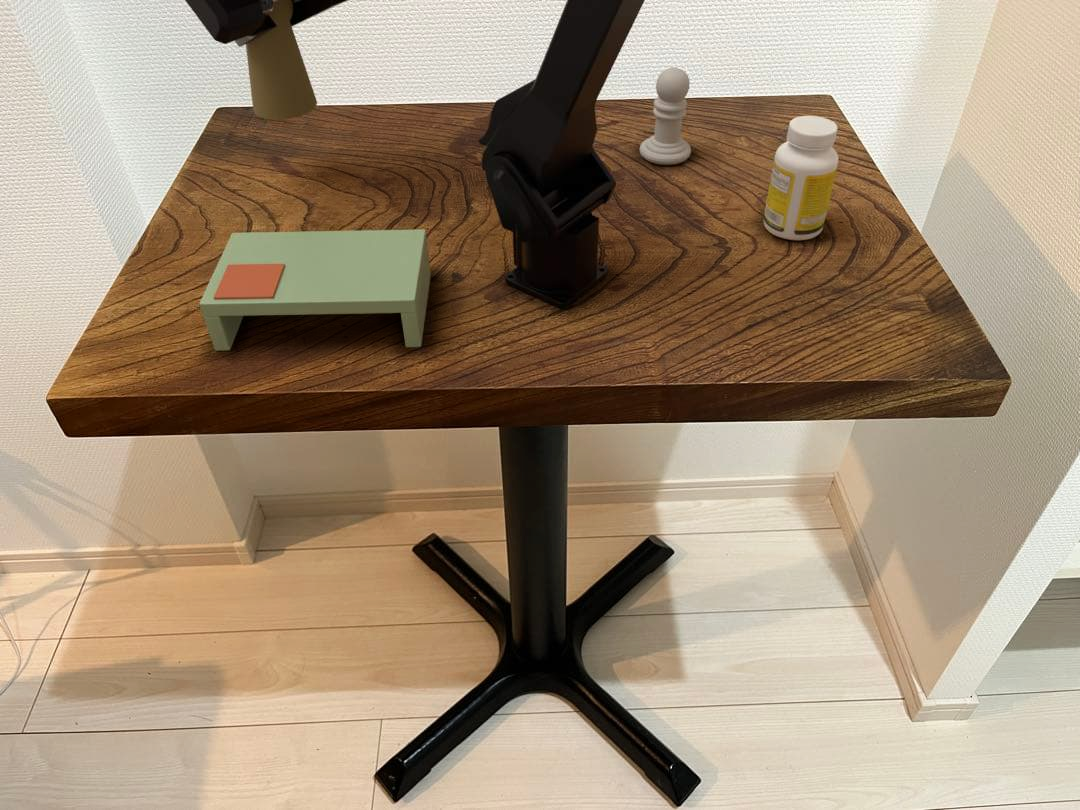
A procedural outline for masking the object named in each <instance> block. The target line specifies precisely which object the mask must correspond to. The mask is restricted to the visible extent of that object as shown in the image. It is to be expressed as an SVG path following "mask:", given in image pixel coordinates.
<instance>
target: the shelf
mask: <svg viewBox="0 0 1080 810" xmlns="http://www.w3.org/2000/svg"><path fill="white" fill-rule="evenodd" d="M431 277H432V272H431V265H430V253H429V246H428V239H427V230H426V229H425V228H423V229H422V228H421V229H372V230H371V229H368V230H365V229H363V230H318V231H317V230H315V231H307V230H306V231H260V232H258V231H255V232H253V231H251V232H248V231H247V232H232V233H231V234H230V237H229V239H228V241H227V244H226V245H225V248H224V249H223V252H222V254H221V256H220V258H219V260H218V262H217V265H216V267H215V269H214V271H213V274H212V275H211V277H210V280H209V282H208V284H207V286H206V289H205V291H204V293H203V295H202V297H201V299H200V301H199V307H200V311H201V313H202V316H203V320H204V322H205V325H206V327H207V331H208V334H209V337H210V340H211V342H212V345H213V348H214V351H217V352H219V351H231V349H232V347H233V344H234V341H235V339H236V337H237V334H238V332H239V329H240V326H241V323H242V321H243V318H244V317H246V316H249V317H250V316H289V315H290V316H298V315H299V316H300V315H301V316H303V315H307V316H308V315H349V314H350V315H352V314H353V315H354V314H355V315H357V314H358V315H359V314H400V317H401V324H402V330H403V337H404V344H405V348H421V347H422V343H423V334H424V326H425V320H426V315H427V314H426V312H427V306H428V298H429V292H430V291H429V289H430V283H431Z"/></svg>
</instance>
